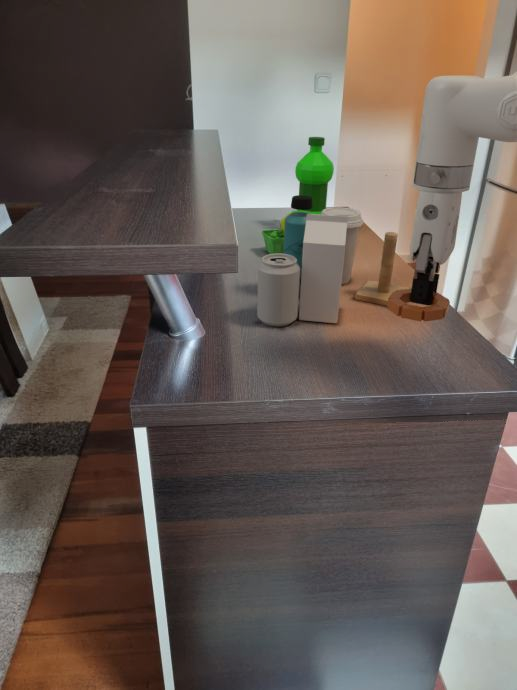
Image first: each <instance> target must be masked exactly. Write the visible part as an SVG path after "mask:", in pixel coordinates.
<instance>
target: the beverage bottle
mask: <svg viewBox="0 0 517 690" xmlns="http://www.w3.org/2000/svg"><path fill="white" fill-rule="evenodd" d="M312 207H313V205H312V197H310V196H306V195H299V194H297V195H293V196H292V197H291V202H290V208H291V209H293V210H296V211H297V210H309V209H312ZM290 213H291V212H290ZM288 214H289V213H288ZM288 214H287V215H288ZM307 214H310V213H306V212H294V213H291V214H289V215H288V216H287V217H286V218H285V230H284V249H283V251H282V252H283V253H282V254H288V255H292V256H294V257H295V258H296V259H297V262H296V263H297V264H298V265H299V266H300V280H299V294H300V290H301V274H302V257H303V241H304V234H305V226H306V218H307Z"/></svg>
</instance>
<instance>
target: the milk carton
mask: <svg viewBox="0 0 517 690" xmlns="http://www.w3.org/2000/svg"><path fill="white" fill-rule="evenodd" d="M347 221H348V216H335V215H318V214H307V218H306V226H305V234H304V241H303V257H302V274H301V290H300V293H299V306H298V320H299V321H307V322H315V323H316V322H318V323H326V324H327V323H328V324H337V323H338V319H339V310H340V300H341V291H342V284H341V282H342V272H343V262H344V252H345V242H346V232H347Z"/></svg>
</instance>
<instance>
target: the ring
mask: <svg viewBox="0 0 517 690" xmlns="http://www.w3.org/2000/svg"><path fill="white" fill-rule="evenodd" d="M411 289H412V287H410V289H403V290H396V292H395V291H393V293H392V294H391V295H390V296H389V298H388V305H387V306H386V307H387V309H388V310H389V311H390V312H391V313H392V314H394V315H395V316H397V317H400V318H401V319H407V320H411V321H412V320H413V321H416V322H422V321H423V322H433V321H439V320H440V321H441V320H443V319H445V318H446V316H447V315H448V312H449V310H450V304H451V301H450V299H449V298H447V297H445V296H444V295H442V294H441V293H439V292H436V293H435V292H434V294H433V300H432V304H431V305H429V306H428V305H425V306H419V305H413V304H408V303H412V302H411V301H410V296H411Z"/></svg>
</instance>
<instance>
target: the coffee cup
mask: <svg viewBox="0 0 517 690" xmlns="http://www.w3.org/2000/svg"><path fill="white" fill-rule="evenodd" d="M321 215H335V216H348V221H347V232H346V242H345V252H344V262H343V272H342V282H341V285H345V284H346V285H347V284H348V283H349V282H350V280H351V276H352V272H353V266H354V262H355V261H354V260H355V256H356V251H357V246H358V241H359V235H360V230H361V227H362V226H363V225H364V219H363V217H362V215H361V212H360V211H359V210H358V209H354V208H351V207H350V208H349V207H341V206H337V207H326V209H324V210H323V211H322V213H321Z"/></svg>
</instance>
